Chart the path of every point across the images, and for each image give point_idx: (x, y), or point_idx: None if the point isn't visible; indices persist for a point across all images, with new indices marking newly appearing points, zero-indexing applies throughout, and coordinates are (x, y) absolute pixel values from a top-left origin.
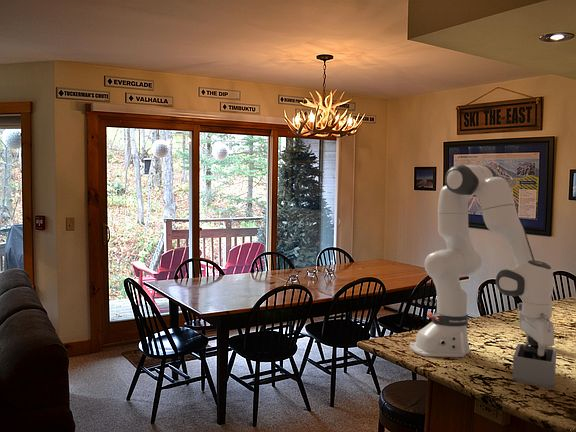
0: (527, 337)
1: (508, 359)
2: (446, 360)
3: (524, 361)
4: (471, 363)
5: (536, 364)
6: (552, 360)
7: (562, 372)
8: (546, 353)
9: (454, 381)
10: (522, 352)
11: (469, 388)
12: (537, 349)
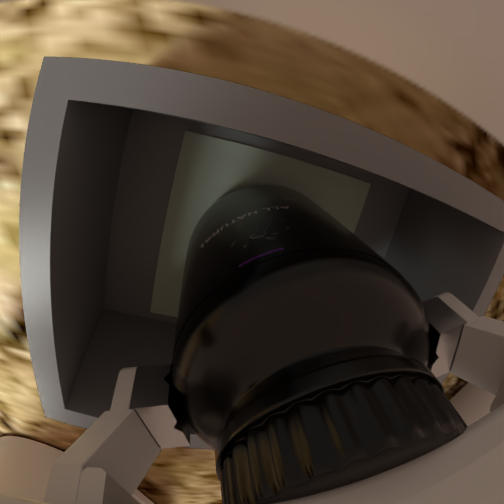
0: (131, 491)
1: (16, 331)
2: (172, 492)
3: None
4: (164, 455)
5: None
6: (488, 216)
7: (113, 43)
8: (355, 242)
9: None
10: (80, 353)
11: None
12: (439, 373)
